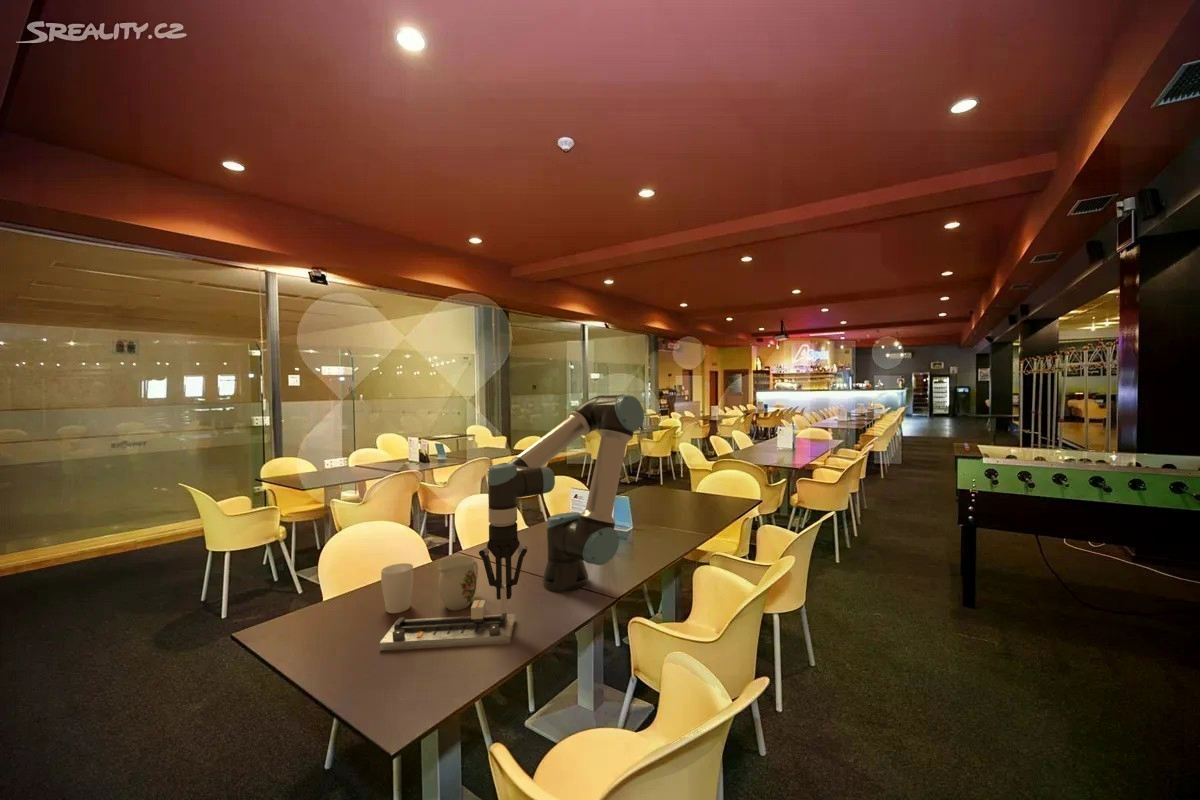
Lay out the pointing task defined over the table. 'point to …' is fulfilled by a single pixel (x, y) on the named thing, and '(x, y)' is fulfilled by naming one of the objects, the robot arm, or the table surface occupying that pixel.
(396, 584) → the cup
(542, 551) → the table surface
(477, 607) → the fader
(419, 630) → the console
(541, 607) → the table surface
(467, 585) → the pitcher
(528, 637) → the table surface
